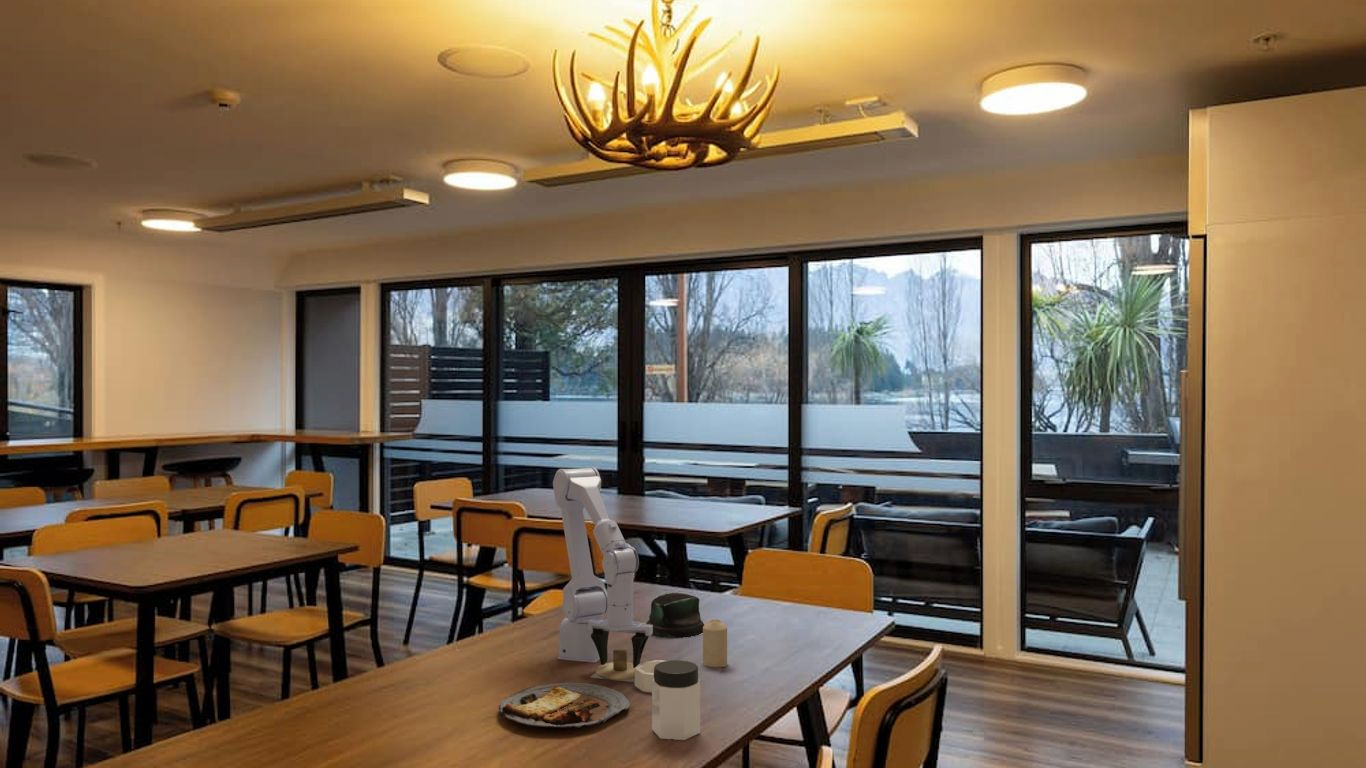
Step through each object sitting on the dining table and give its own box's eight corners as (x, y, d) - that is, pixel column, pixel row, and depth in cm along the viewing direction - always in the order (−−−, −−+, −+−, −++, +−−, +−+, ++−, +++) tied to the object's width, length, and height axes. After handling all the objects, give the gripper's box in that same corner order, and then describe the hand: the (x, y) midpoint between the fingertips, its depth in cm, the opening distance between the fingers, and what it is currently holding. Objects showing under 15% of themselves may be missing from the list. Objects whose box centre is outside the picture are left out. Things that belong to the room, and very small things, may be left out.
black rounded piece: (675, 646, 226) (675, 608, 226) (620, 631, 240) (620, 595, 240) (728, 630, 240) (728, 594, 240) (673, 617, 254) (673, 583, 254)
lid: (588, 677, 200) (588, 655, 200) (607, 663, 210) (607, 642, 210) (633, 682, 197) (633, 659, 197) (650, 667, 207) (650, 646, 207)
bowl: (629, 691, 192) (629, 672, 192) (645, 676, 202) (645, 658, 202) (675, 696, 189) (675, 677, 189) (689, 681, 199) (689, 662, 199)
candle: (725, 669, 207) (725, 624, 207) (700, 667, 208) (700, 623, 208) (728, 662, 213) (728, 618, 213) (705, 660, 214) (705, 617, 214)
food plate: (569, 746, 163) (569, 725, 164) (473, 721, 176) (473, 702, 176) (648, 708, 185) (649, 690, 185) (558, 688, 197) (558, 671, 197)
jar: (674, 719, 176) (675, 656, 176) (708, 730, 171) (708, 665, 171) (642, 733, 169) (643, 667, 169) (676, 744, 164) (677, 677, 164)
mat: (590, 678, 200) (590, 677, 200) (607, 665, 210) (607, 663, 210) (633, 683, 197) (633, 681, 197) (649, 669, 207) (649, 667, 207)
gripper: (582, 604, 202) (582, 667, 202) (645, 610, 197) (644, 673, 197) (595, 597, 209) (595, 658, 209) (656, 602, 204) (655, 664, 204)
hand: (620, 665), depth 203 cm, fingers open, 7 cm apart
